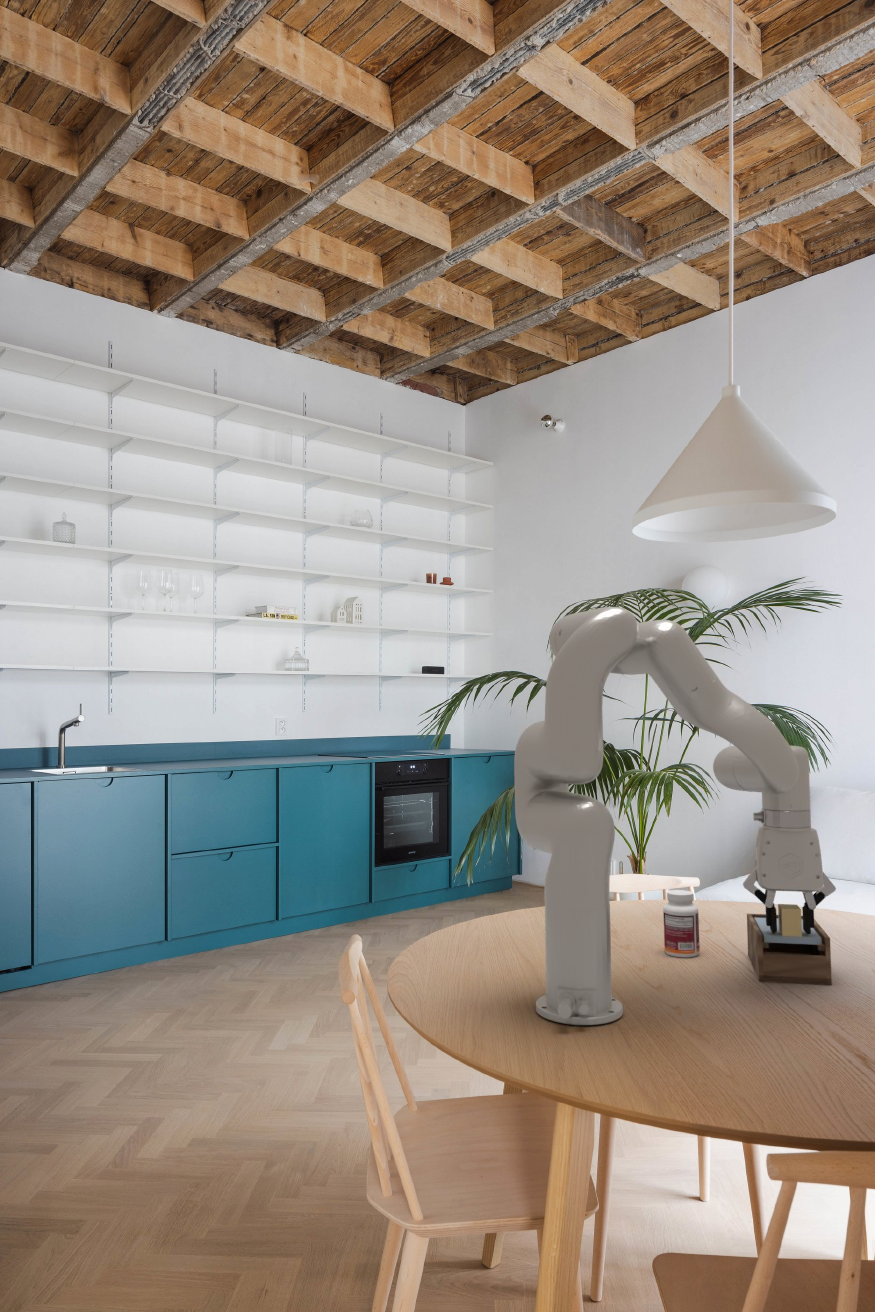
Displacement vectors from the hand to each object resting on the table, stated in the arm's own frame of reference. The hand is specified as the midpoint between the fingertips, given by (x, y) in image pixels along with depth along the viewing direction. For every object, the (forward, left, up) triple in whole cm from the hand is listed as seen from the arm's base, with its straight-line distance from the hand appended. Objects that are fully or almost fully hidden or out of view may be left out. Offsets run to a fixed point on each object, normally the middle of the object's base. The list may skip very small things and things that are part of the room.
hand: (790, 930), depth 149 cm
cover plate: (+5, 0, -2) cm, 5 cm away
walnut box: (+5, 0, -8) cm, 9 cm away
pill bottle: (+12, +17, -8) cm, 22 cm away
